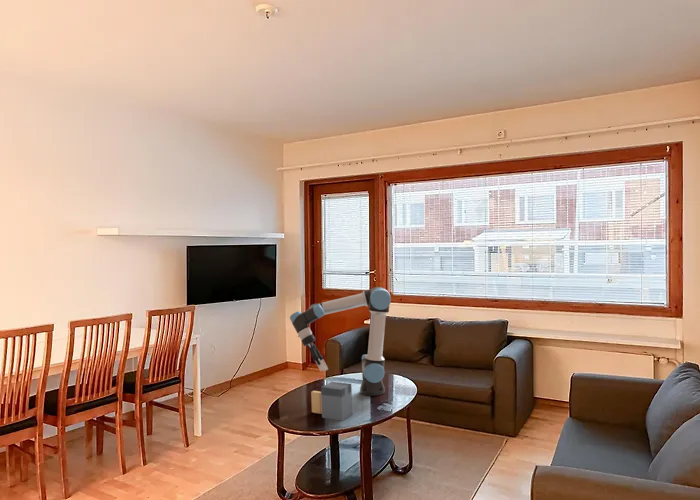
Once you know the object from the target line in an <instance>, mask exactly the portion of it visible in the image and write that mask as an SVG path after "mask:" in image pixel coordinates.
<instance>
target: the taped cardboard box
mask: <svg viewBox="0 0 700 500" xmlns="http://www.w3.org/2000/svg"><path fill="white" fill-rule="evenodd" d="M320 393H321V391H320V390H319V391H318V390H312V391H311V393H310V395H311V396H310V397H311V413H314V414H321V415H322V399H321V395H320Z"/></svg>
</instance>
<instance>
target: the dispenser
mask: <svg viewBox="0 0 700 500" xmlns="http://www.w3.org/2000/svg"><path fill="white" fill-rule="evenodd" d="M352 389H353V388H352V383H348V382H339V381H337V382H336V381H330V382H329V383H326V384H324V385H322V386H320V390H321V391H320V392H321V393H320V395H321V399H322V414H321V418H322V419H328V420H336V421H344V420H346V419H347V418H348V417H350V416H351V415H353V396H352V395H353V393H352V392H353V391H352Z"/></svg>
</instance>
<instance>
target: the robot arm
mask: <svg viewBox="0 0 700 500" xmlns="http://www.w3.org/2000/svg"><path fill="white" fill-rule="evenodd" d="M391 302H392V297H391V294H390V292H389V291H388V290H387V289H386V288H384V287H381V286H375V287H372V288H369V289H367V290H363V291H362V292H361V293H357V294H353V295H348V296H344V297H340V298H335V299H331V300H327V301H325V302H324V301H323V302H320V303H313V304H311V305H309V307H308V309H306V310H305V311H303V312H302V311H300V310H297V311H295V312H294V313H292V314H291V315H290V316H289V319H290V322H291V324H292V326H293V328H294V330H295V331H296V334H297V338H299V339H300V340H301V343H302V345H303V346H304V347H307V349H308V350H309V353H310V355H311V357H312V361H313V362H315V364H316V365H317V367H318V369H319V371H320V372H322V371H323V372H326V371H328V370H329V367H328V365H327V364H326V361H325V357H324V356H323V355H322V354H321V352H320V350H319V349H318V347H317V345H316V344H315V343H314V342H315V341H316V338H315V336H314V334H313V332H312V330H311V328H310V326H309V325H311V324H312V323H313V322H315V321H317V320H318V319H321V318H322V317H324V316H325V315H329V314H334V313H338V312H339V313H340V312H342V311H348V310H351V309H355V308H360V307H363V306H365V307H368V312H370V322H369V323H370V324H369V335H368V345H367V354H362V356H361V369H362V370H361V374H362V377H361V378H362V380H361V384H360V388H359V393H360V394H361V395H363V396H369V397H373V396H381V395H383V394H385V392H386V390H385V389H386V388H385V385H384V383H383V379H384V377H385V374H386V373H385V361H386V360H385V357H384V356H383V355H384V354H383V351H384V340H385V328H386V318H387V317H386V316H387V315H388V314H389V313H390V312H389V311H390V305H391Z"/></svg>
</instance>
